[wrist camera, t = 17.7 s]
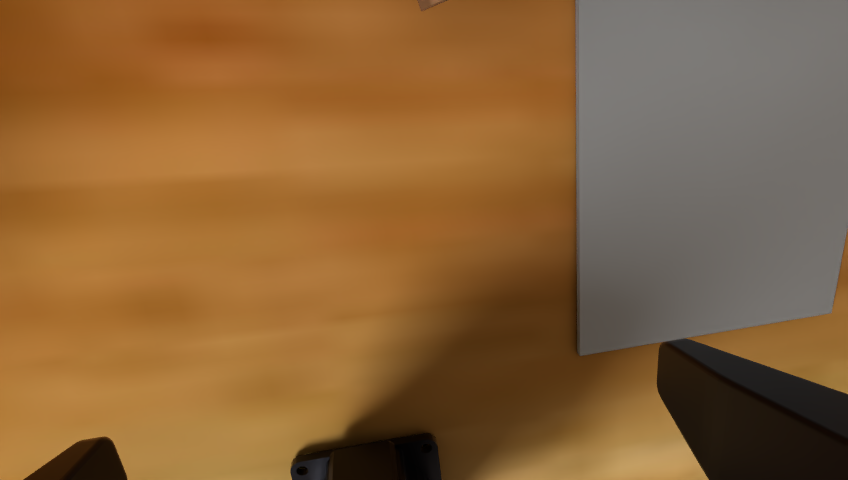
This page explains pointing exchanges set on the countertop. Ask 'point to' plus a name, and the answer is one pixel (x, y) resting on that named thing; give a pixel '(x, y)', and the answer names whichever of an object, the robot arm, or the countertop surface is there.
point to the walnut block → (428, 3)
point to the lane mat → (708, 165)
